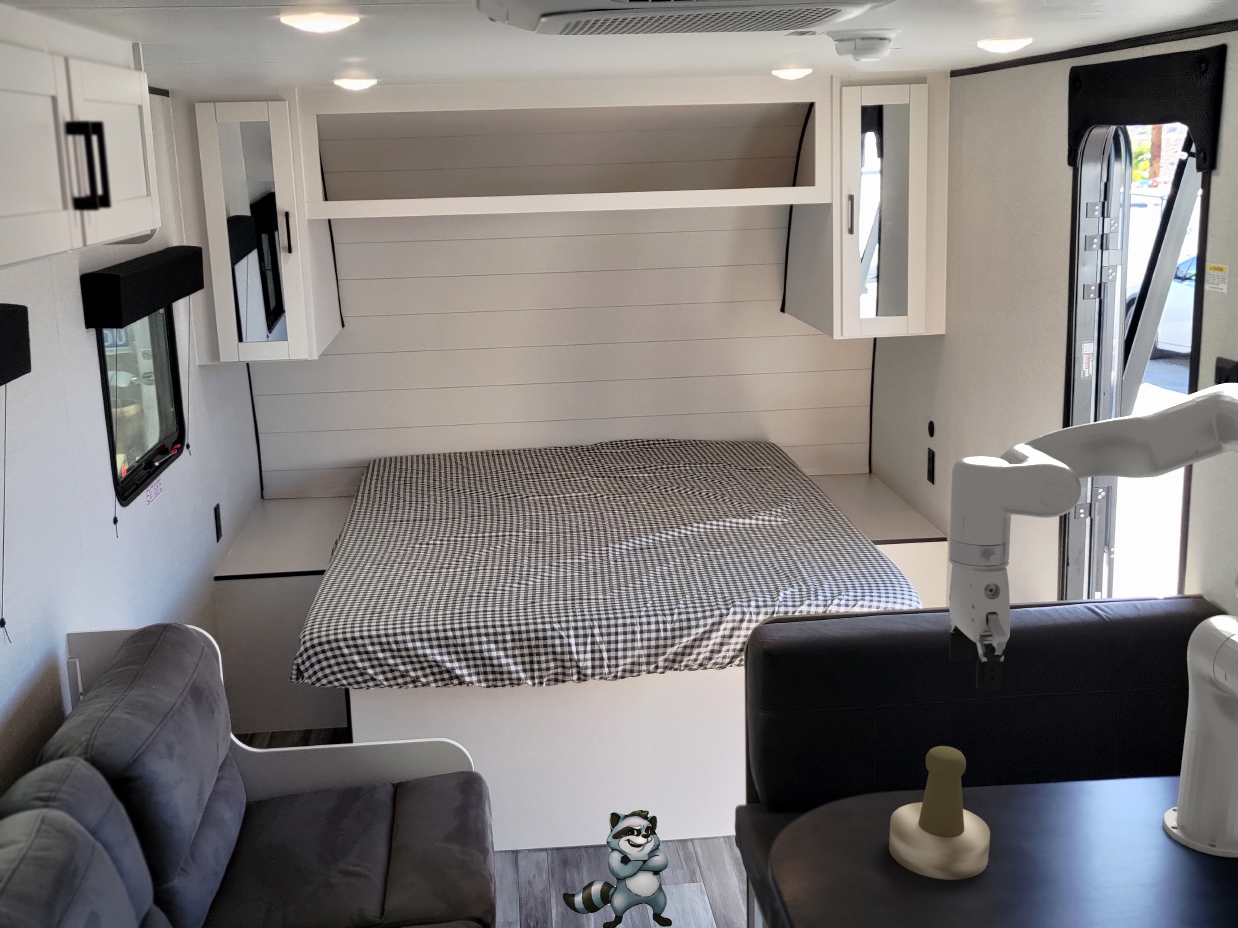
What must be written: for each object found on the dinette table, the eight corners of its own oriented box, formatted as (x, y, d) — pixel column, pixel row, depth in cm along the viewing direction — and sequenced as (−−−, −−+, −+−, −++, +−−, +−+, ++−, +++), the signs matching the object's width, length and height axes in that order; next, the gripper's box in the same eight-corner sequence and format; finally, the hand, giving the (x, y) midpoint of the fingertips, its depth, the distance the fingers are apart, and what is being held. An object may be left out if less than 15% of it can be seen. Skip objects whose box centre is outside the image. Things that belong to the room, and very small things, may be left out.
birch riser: (968, 826, 163) (970, 800, 163) (1002, 878, 151) (1005, 850, 150) (877, 828, 163) (879, 802, 162) (904, 880, 150) (906, 852, 149)
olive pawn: (960, 815, 159) (965, 741, 156) (968, 838, 153) (974, 761, 150) (915, 813, 159) (919, 739, 157) (922, 835, 153) (927, 759, 151)
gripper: (1035, 569, 143) (1028, 698, 147) (981, 532, 160) (977, 648, 163) (976, 572, 143) (971, 701, 146) (928, 535, 159) (925, 651, 163)
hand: (974, 673), depth 155 cm, fingers open, 9 cm apart
